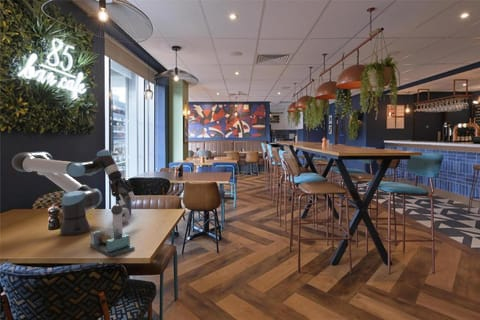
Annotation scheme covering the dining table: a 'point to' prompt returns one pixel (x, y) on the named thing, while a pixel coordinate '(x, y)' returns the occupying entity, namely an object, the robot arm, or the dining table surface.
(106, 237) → the walnut
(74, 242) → the dining table surface
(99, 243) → the nutcracker base
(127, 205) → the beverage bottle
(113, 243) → the jaw
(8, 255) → the dining table surface
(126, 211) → the donut
